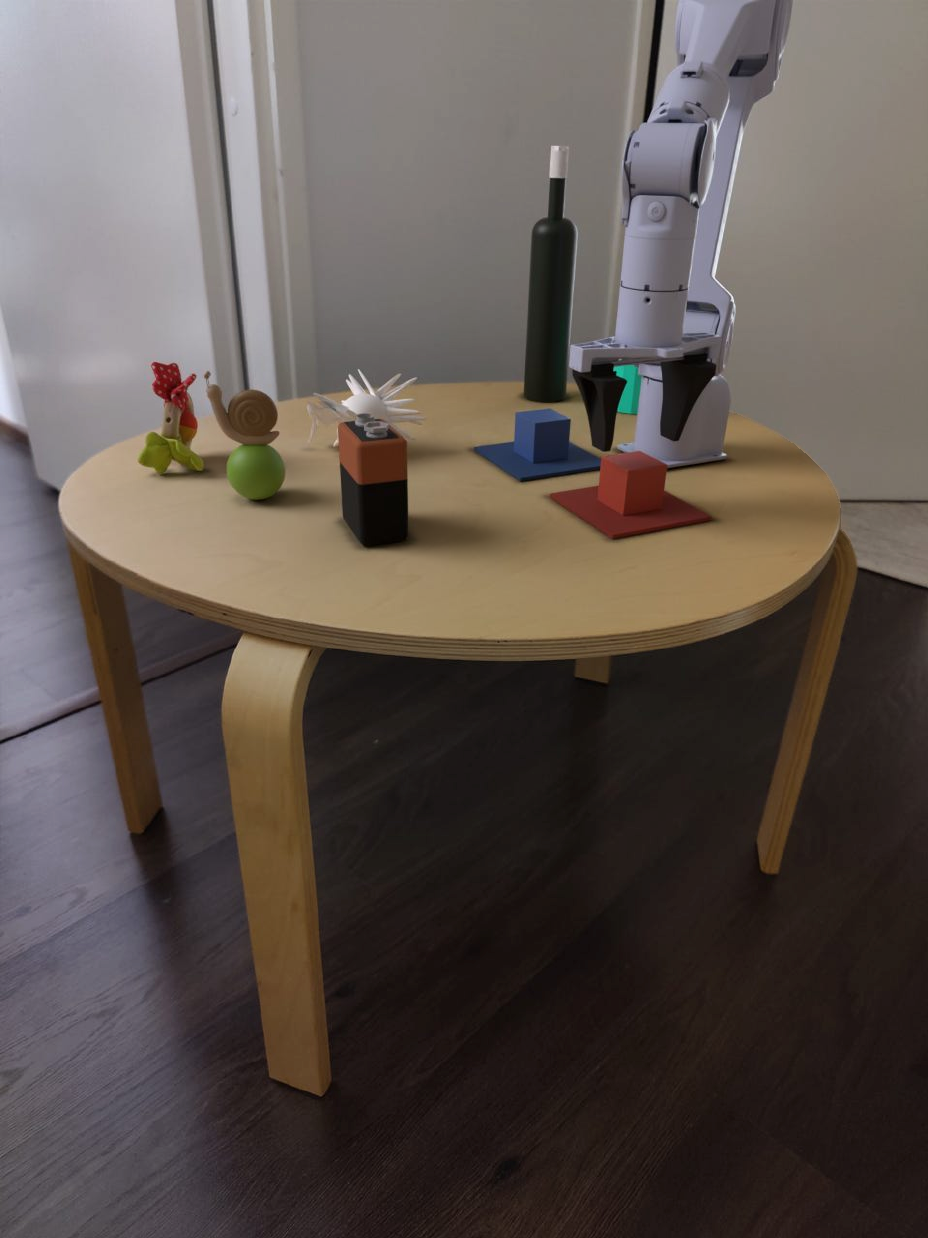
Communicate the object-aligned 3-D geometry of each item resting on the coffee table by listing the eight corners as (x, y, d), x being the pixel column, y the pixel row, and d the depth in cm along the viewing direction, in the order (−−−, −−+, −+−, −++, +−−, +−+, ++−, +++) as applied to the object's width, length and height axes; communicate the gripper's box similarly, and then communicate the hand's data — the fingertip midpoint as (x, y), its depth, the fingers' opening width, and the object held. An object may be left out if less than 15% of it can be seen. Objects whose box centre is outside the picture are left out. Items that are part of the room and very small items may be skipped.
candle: (654, 415, 110) (666, 317, 105) (607, 411, 111) (616, 314, 106) (654, 403, 116) (666, 309, 110) (609, 399, 117) (619, 306, 111)
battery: (361, 548, 73) (356, 433, 68) (341, 519, 79) (335, 411, 74) (410, 541, 75) (408, 428, 70) (387, 513, 80) (384, 406, 75)
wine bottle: (568, 393, 119) (586, 146, 105) (562, 403, 114) (581, 146, 100) (527, 389, 120) (540, 145, 106) (520, 400, 116) (532, 145, 101)
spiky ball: (293, 454, 98) (278, 380, 93) (382, 426, 104) (372, 355, 99) (342, 480, 90) (329, 402, 85) (435, 448, 96) (428, 373, 91)
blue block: (547, 446, 97) (550, 408, 95) (568, 458, 94) (571, 418, 91) (513, 451, 95) (515, 412, 93) (532, 463, 92) (535, 423, 90)
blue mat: (557, 438, 101) (558, 435, 101) (610, 467, 92) (610, 464, 92) (473, 450, 97) (473, 446, 97) (520, 481, 88) (520, 477, 88)
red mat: (641, 482, 89) (642, 478, 88) (711, 520, 80) (712, 516, 80) (549, 497, 84) (549, 493, 84) (612, 539, 76) (612, 534, 76)
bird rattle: (155, 478, 93) (132, 471, 84) (150, 373, 92) (126, 355, 83) (214, 477, 94) (197, 471, 85) (210, 373, 93) (192, 355, 84)
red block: (634, 493, 85) (639, 450, 82) (661, 509, 81) (668, 464, 79) (596, 500, 83) (601, 455, 81) (622, 516, 79) (628, 470, 77)
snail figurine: (224, 488, 85) (208, 364, 79) (290, 487, 86) (279, 364, 80) (215, 508, 80) (197, 379, 75) (284, 507, 81) (272, 378, 75)
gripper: (608, 299, 67) (592, 467, 73) (753, 288, 72) (727, 446, 79) (561, 285, 72) (551, 443, 79) (699, 277, 78) (679, 424, 84)
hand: (635, 443), depth 79 cm, fingers open, 7 cm apart
